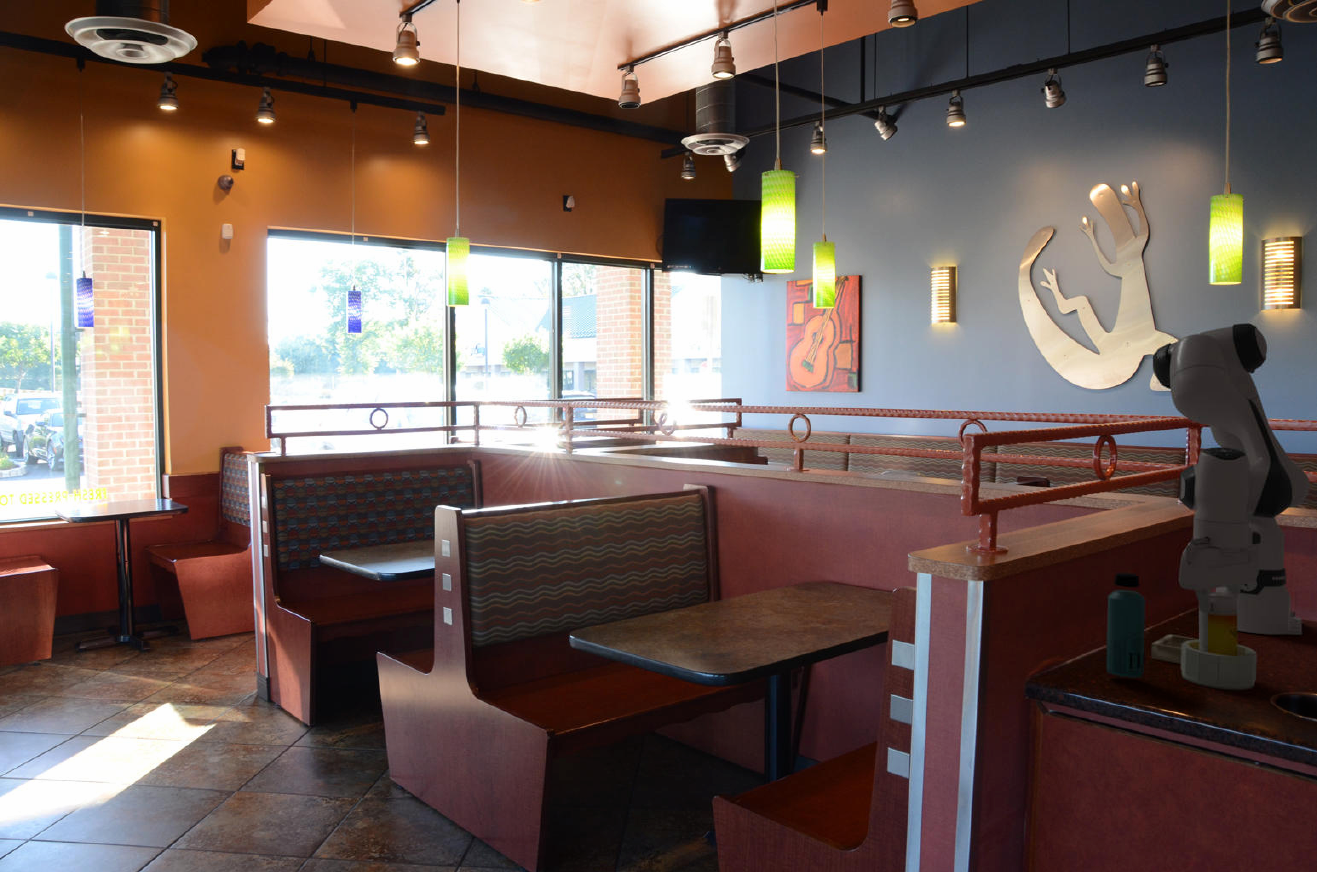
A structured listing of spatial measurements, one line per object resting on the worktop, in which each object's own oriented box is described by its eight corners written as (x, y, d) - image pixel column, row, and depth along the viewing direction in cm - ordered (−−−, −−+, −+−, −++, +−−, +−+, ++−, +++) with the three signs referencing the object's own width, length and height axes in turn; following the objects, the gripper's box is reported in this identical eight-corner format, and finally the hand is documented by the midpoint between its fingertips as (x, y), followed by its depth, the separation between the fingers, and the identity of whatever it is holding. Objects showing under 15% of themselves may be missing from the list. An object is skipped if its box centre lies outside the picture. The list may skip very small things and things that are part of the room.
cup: (1192, 667, 181) (1193, 636, 181) (1261, 680, 173) (1262, 648, 173) (1173, 679, 173) (1174, 647, 173) (1244, 694, 165) (1246, 660, 165)
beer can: (1245, 678, 170) (1245, 596, 170) (1214, 679, 170) (1214, 597, 169) (1221, 669, 176) (1221, 590, 176) (1191, 670, 176) (1191, 591, 175)
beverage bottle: (1129, 687, 168) (1132, 578, 167) (1096, 677, 174) (1099, 572, 173) (1152, 682, 171) (1155, 575, 170) (1119, 673, 177) (1122, 569, 176)
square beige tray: (1169, 648, 195) (1169, 631, 195) (1228, 658, 187) (1229, 641, 187) (1151, 658, 187) (1151, 640, 187) (1212, 670, 180) (1213, 651, 179)
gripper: (1205, 541, 164) (1202, 619, 165) (1267, 534, 175) (1265, 607, 175) (1170, 537, 170) (1168, 611, 170) (1233, 530, 180) (1230, 600, 181)
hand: (1217, 609), depth 173 cm, fingers open, 6 cm apart
